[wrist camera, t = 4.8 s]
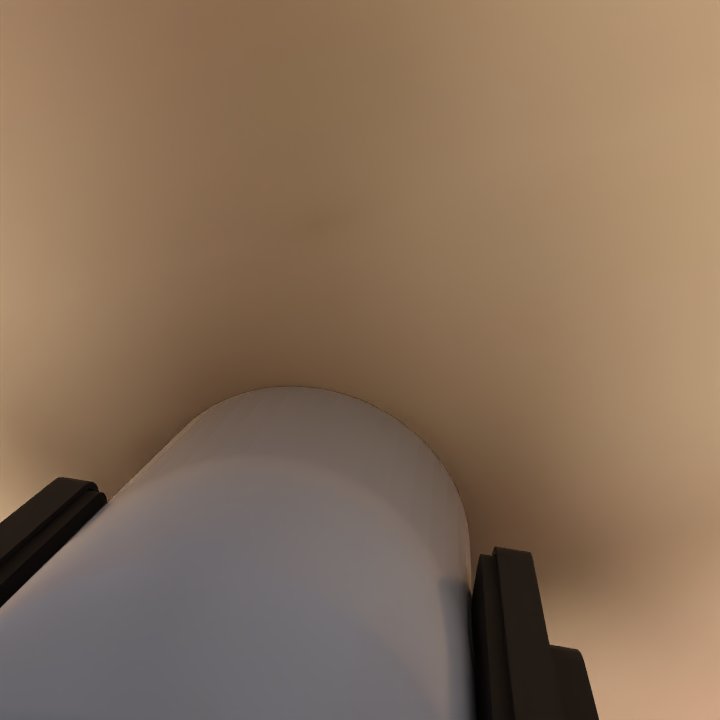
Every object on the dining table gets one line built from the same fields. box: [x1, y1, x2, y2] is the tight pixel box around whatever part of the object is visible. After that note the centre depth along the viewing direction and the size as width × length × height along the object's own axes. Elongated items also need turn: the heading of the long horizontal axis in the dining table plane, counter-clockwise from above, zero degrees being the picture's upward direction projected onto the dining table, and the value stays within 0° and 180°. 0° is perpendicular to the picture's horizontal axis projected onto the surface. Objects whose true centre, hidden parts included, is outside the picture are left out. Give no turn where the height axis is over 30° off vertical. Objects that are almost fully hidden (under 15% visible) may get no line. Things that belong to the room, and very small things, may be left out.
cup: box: [0, 386, 477, 720], centre depth 9 cm, size 6×6×7 cm
